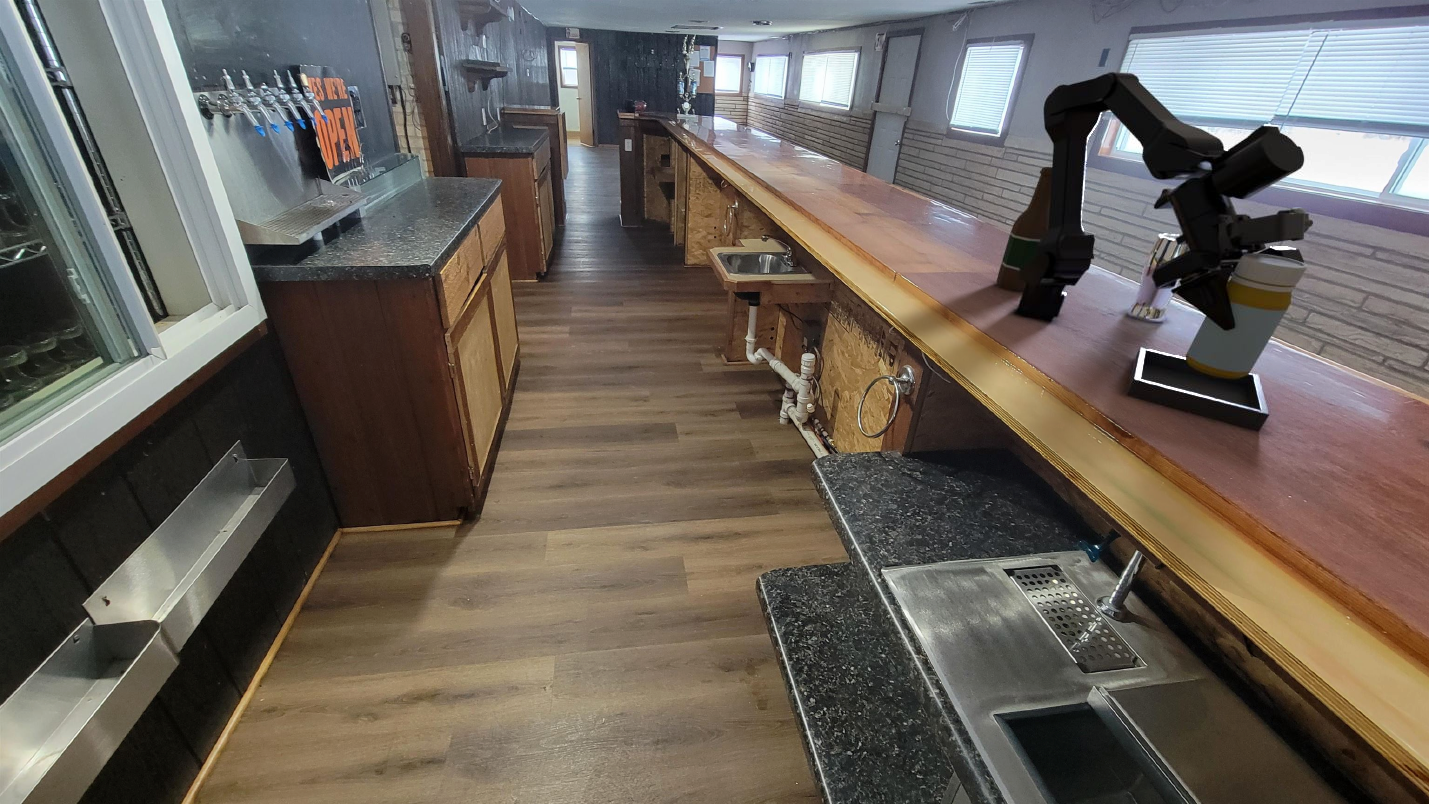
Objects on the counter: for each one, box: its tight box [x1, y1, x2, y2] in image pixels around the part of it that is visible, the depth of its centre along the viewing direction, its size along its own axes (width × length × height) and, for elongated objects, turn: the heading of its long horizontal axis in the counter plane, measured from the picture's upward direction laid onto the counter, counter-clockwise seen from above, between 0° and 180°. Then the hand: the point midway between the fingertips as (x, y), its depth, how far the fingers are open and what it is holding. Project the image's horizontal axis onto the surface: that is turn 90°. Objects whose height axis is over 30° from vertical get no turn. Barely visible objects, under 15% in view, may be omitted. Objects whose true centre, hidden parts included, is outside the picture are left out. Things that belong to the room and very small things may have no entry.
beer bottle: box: [996, 166, 1052, 293], centre depth 116 cm, size 8×8×24 cm
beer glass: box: [1126, 233, 1189, 323], centre depth 105 cm, size 7×7×15 cm
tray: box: [1126, 346, 1270, 432], centre depth 80 cm, size 15×15×2 cm
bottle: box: [1184, 252, 1308, 379], centre depth 73 cm, size 7×7×15 cm
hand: (1249, 327), depth 72 cm, fingers closed on bottle, 6 cm apart
